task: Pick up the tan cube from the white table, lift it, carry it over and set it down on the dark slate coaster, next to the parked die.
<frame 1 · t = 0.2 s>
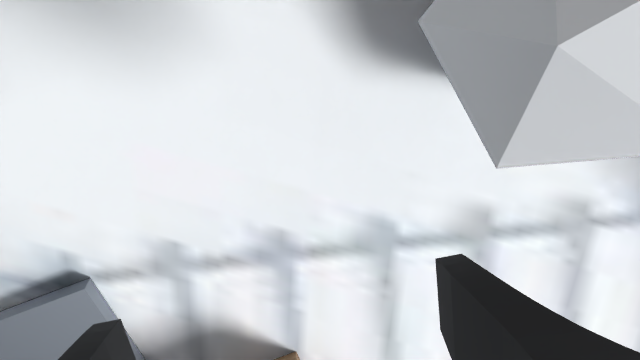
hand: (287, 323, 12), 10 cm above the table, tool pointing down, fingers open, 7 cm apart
die: (519, 13, 20), on the table
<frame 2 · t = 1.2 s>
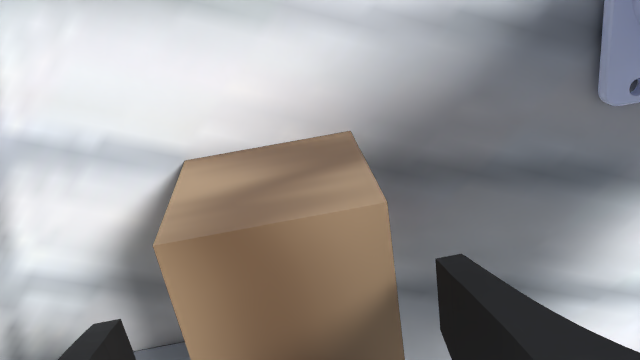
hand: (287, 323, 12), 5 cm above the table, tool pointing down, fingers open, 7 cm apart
tan cube: (283, 217, 16), on the table
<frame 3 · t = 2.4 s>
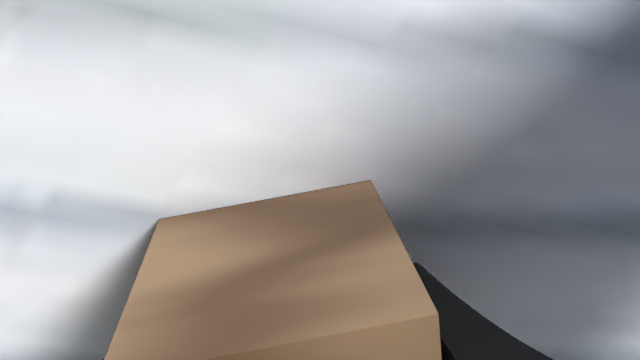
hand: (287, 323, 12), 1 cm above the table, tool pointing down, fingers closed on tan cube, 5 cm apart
tan cube: (284, 287, 13), on the table, touching gripper
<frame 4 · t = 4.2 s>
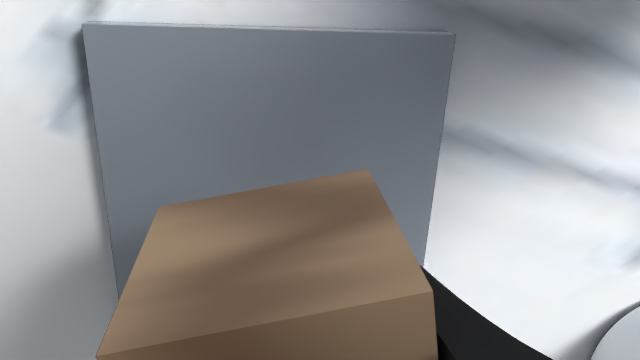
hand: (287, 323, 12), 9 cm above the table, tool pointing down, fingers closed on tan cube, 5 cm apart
slate coaster: (274, 189, 20), on the table
tan cube: (283, 275, 13), point 7 cm above the table, touching gripper
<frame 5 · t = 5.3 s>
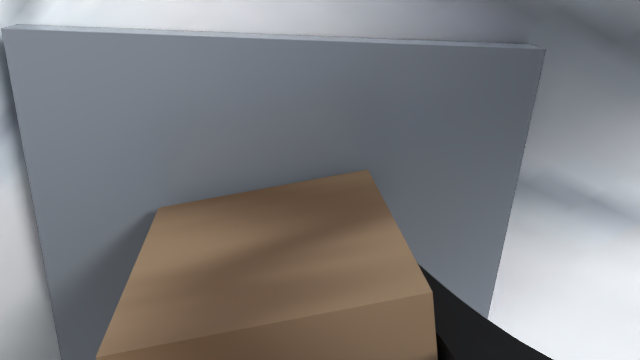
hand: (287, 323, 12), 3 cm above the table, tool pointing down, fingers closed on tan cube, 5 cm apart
slate coaster: (282, 255, 14), on the table
tan cube: (283, 276, 13), point 1 cm above the table, touching gripper
when the fingers open (3 cm above the table, at t = 6.2 s): tan cube stays where it is, resting on slate coaster.
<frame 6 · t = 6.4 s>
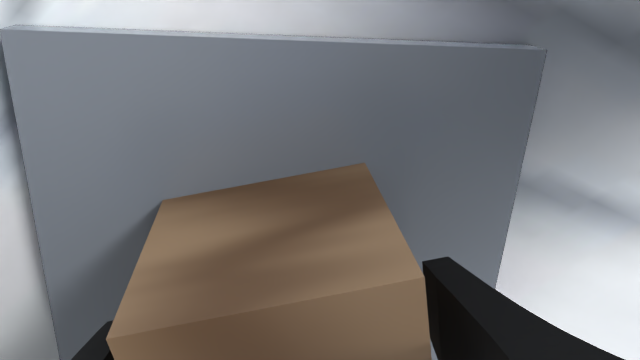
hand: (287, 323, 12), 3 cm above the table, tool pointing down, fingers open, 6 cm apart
slate coaster: (282, 256, 14), on the table
tan cube: (283, 266, 14), point 1 cm above the table, touching slate coaster
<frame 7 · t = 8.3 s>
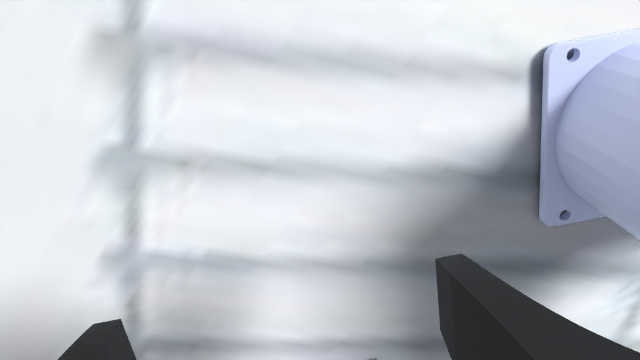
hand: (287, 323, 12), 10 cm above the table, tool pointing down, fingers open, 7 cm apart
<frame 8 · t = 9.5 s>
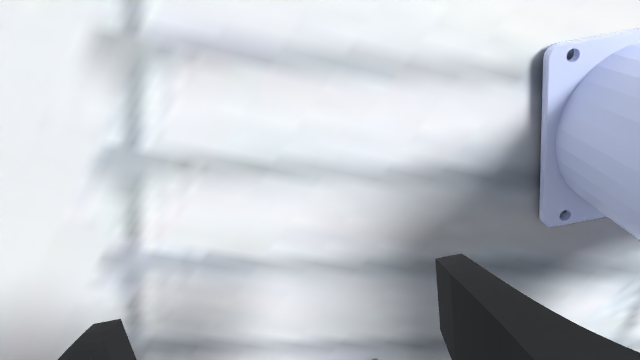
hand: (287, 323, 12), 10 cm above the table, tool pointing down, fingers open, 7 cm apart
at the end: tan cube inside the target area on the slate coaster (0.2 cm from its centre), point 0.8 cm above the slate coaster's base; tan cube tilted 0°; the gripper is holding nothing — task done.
